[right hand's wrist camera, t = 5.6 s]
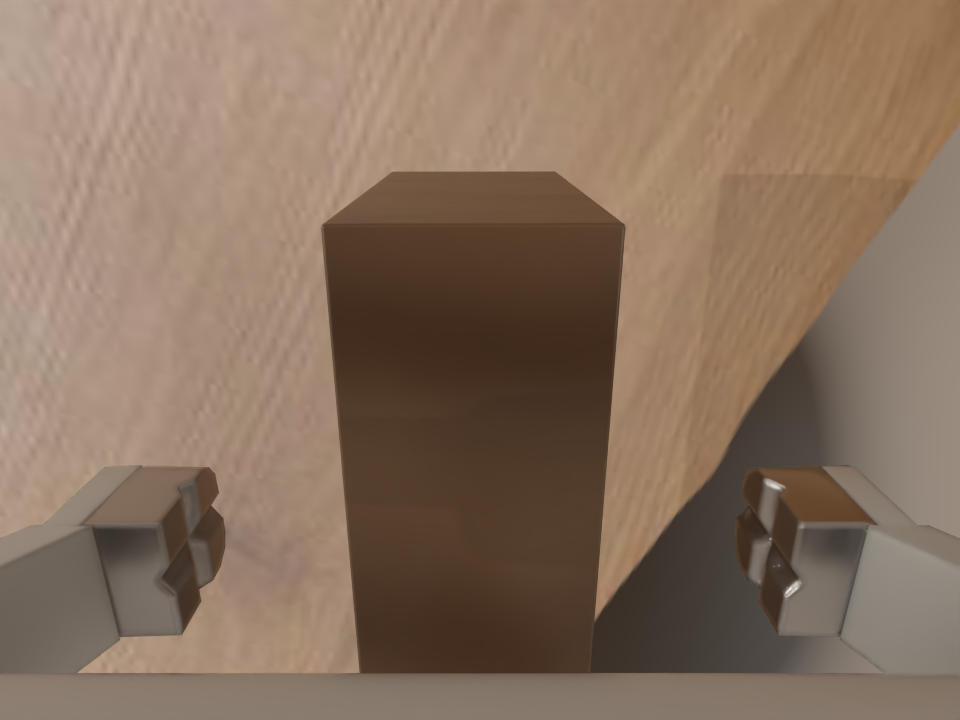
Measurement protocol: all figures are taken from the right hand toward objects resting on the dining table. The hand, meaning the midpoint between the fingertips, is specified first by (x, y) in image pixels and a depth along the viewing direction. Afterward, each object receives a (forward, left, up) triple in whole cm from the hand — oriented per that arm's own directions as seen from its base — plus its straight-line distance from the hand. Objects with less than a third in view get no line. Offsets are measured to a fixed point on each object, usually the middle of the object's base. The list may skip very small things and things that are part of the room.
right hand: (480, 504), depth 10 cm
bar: (+9, 0, -11) cm, 14 cm away
